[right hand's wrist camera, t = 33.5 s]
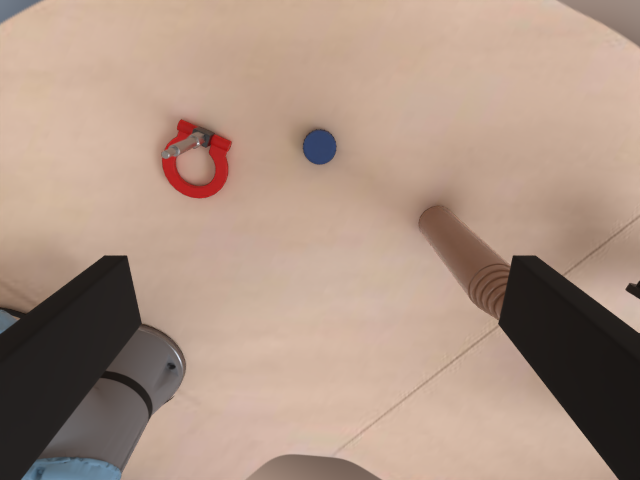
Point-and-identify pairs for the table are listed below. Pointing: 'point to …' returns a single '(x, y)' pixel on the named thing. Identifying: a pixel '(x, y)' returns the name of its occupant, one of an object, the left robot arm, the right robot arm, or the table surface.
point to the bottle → (467, 258)
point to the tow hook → (194, 138)
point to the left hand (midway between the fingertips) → (608, 330)
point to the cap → (319, 146)
